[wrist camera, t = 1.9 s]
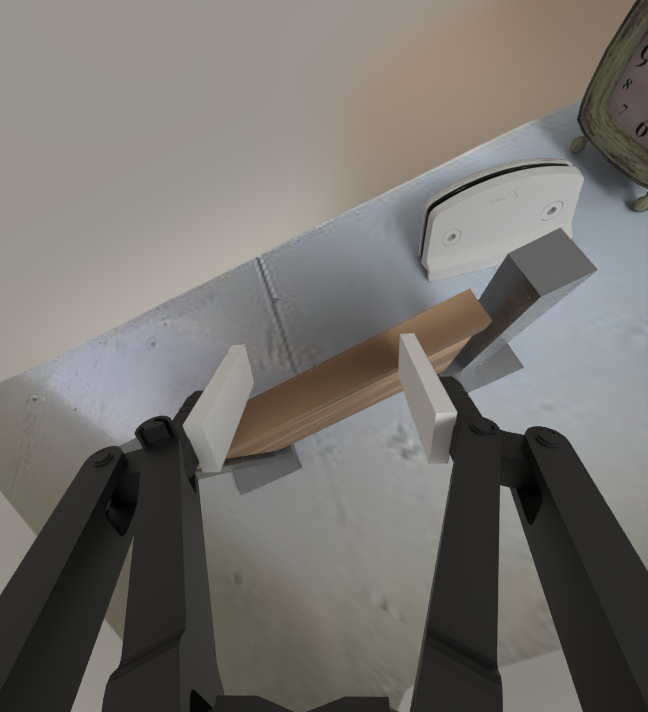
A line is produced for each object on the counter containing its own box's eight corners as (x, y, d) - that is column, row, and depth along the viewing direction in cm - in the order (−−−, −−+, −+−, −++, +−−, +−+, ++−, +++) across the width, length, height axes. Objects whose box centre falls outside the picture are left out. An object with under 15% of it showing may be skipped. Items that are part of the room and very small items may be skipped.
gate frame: (520, 369, 33) (685, 285, 14) (244, 493, 37) (85, 558, 18) (480, 310, 36) (575, 173, 17) (226, 432, 39) (69, 432, 20)
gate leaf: (446, 373, 33) (492, 320, 17) (279, 453, 35) (185, 471, 20) (431, 349, 34) (462, 278, 18) (270, 428, 36) (173, 425, 21)
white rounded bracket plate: (425, 283, 38) (426, 210, 30) (416, 260, 41) (415, 187, 33) (571, 248, 35) (614, 156, 27) (550, 225, 38) (584, 136, 30)
